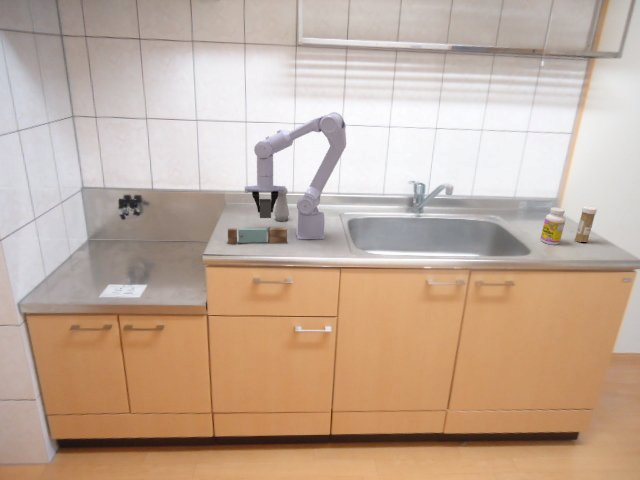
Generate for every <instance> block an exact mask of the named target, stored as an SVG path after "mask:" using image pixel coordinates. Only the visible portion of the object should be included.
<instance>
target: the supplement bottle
mask: <svg viewBox="0 0 640 480" xmlns="http://www.w3.org/2000/svg"><path fill="white" fill-rule="evenodd" d="M549 212H550V213H549V214H547V215H546V216H545V219H544V223H543V227H542V230H541V235H540V241H541V242H542V243H544V244H547V245H553V246H555V245H556V246H557V245H559V244H560V243H561V239H562V236H563V235H562V234H563V231H564V228H565V223H566V217H565V216H564V215H565V212H566V211H565V209H564V208H561V207H553V206H552V207H550V210H549Z"/></svg>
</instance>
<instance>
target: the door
mask: <svg viewBox="0 0 640 480" xmlns="http://www.w3.org/2000/svg"><path fill="white" fill-rule="evenodd" d="M267 230H268V228H267V227H265V228H264V227H263V228H262V227H261V228H238V229H237V239H238V244H241V243H244V244H245V243H247V244H251V243H268V232H267Z"/></svg>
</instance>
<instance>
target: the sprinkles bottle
mask: <svg viewBox="0 0 640 480" xmlns="http://www.w3.org/2000/svg"><path fill="white" fill-rule="evenodd" d="M597 210H598V209H597V207H594V206H590V205H585V206H582V208H581V215H580V218H579V222H578V226H577V229H576V233H575V238H574V241H575V240H576V241H578V242H577V243H579V242H587V243H589V237H590V235H591V231H592V228H593V224H594V219H595V215H596V214H597ZM576 241H575V242H576Z"/></svg>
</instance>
